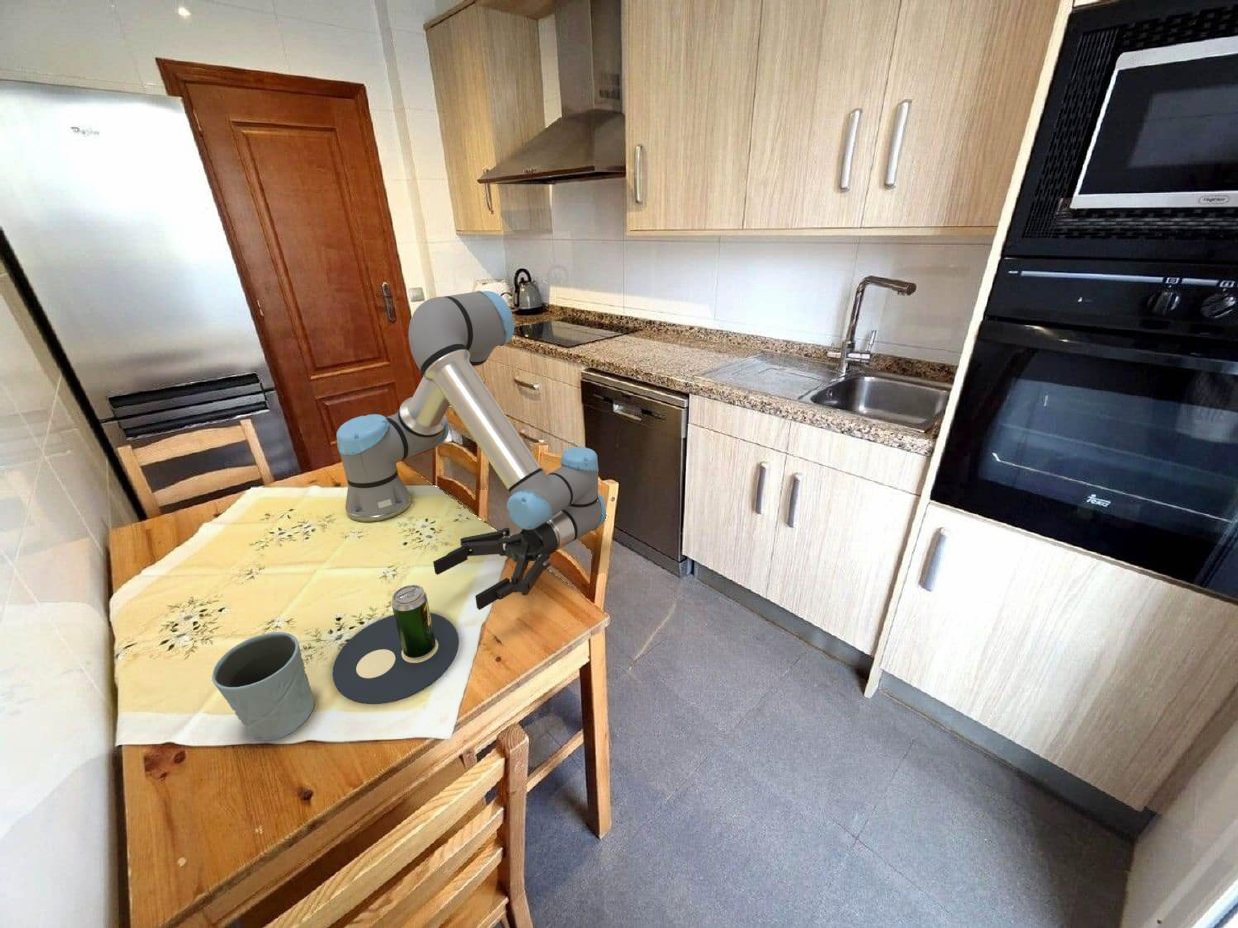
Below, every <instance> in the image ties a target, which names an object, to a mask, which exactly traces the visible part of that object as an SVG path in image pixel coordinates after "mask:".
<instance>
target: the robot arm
mask: <svg viewBox="0 0 1238 928" xmlns="http://www.w3.org/2000/svg"><path fill="white" fill-rule="evenodd" d="M513 316H514V315H513V313H512V310H511V307H510V306H509V304H508V302H506V300H505V299H504V298H503V297H502V296H501V295H500V294H498V293H497V292H495V291H491V290H476V291H471V292H465V293H457V294H452V295H451V294H450V295H444V296H436V297H431V298H429V299H427V300H424V301H423V302H422V303H420V304H419V305H418V306H417V308H416V309H415V310H414V312H413V313H412V315H411V318H410V321H409V325H408V343H409V344H408V345H409V348H410V352H411V355H412V358H413V360H414V363H415V364H416V366H417V368H418V369H419V371H420V373H421V375H422V377H421V380H420V382H419V384H418V386H417V388H416V390H415V392H414V393H413V396H411V397H408V398H406V399H404V401H403V402H402V403H401V404H400V407H399V408H398V410H397V412H396V413H394V414H391V415H388V416H384V415H382V414H379V413H378V414H376V413H372V414H371V413H369V414H367V415H360V416H357V417H354V418H351V419H349V420H347V421H345V422H343V424H342V425H340V426H339V428H338V429H337V431H336V435H335V436H336V442H337V450H338V452H339V455H340V459H341V463H342V466H343V471H344V474H345V475H344V476H345V478H346V481H347V491H346V499H345V500H346V501H345V506H344V507H345V512H346V516H347V517H348V518H349V519H351V520H352V521H356V522H359V523H360V522H361V523H374V522H375V523H376V522H381V521H385V520H389V519H393V518H394V517H397V516H399V515H400V514H402V513H404V512H405V511H406V510H408V509H409V508H410V506H411V504H412V497H411V493H410V491H409V490H408V488H407V487H406V485H405V483H404V481H403V480H402V478H401V477H400V475H399V472H398V466H397V464H398V463H400V462H402V461H404V460H407V459H410V458H412V457H414V456H417V455H419V454H421V453H424V452H427V451H430V450H433V449H435V448H437V447H438V446H440V445H441V444H444V442H445V441H446V440H447V438H448V435H449V432H450V428H449V420H448V417H447V416H446V414H447V412H448V410H449V409H450V408H451V409H452V410H453V411H454V413H455V414H456V415H457V417H458V419H459V420H460V421H461V423H462V424H463V426H464V427H465V429H466V431H468V434H469V435H470V437H471V438H472V440H473V441H474V442H475V444H476V445H477V446H478V448H479V450H480V451H481V452H482V454H483V455H484V457H485V458H486V460H487V461H488V463H489V464H490V466H491V467H492V468H493V470H494V472H495V474H497V476H498V477H499V479H500V480H501V482H502V483H503V485H504V486H505V487H506V489H507V490H508V492H509V494H510V496H509V497H508V498H507V499H508V500H507V501H506V510H507V511H508V512H509V513H508V514H509V518H510V520H511V521H512V522H513V523H514V524H515V525H516V526H517V527H519V528H520V529H521V531H520V532H519V533H515V534H513V533H511V530H510V528H509V527H504V528H502V529H499V530H495V531H491V532H485V533H480V534H475V535H470V536H465V537H461V538H459V542H460V547H457V548H456V549H454V550H451V551H449V552H448V553H447V554H445V555H444V556H441V557H439V558H437V559H435V560H433V561H432V564H433V570H434V574H435V575H436V576H438V575H440V574H442V573H444V572H446V571H448V570H451V569H452V568H454V567H456V566H458V565H461V564H462V563H464V562H466V561H468V559H469V558H468V557H477V556H491V555H498V556H500V557H506V558H508V559H511V560H512V561H513V563H516V564H515V568H514V571H513V573H512V576H511V575H510V578H508V577H505V578H504V579H502V580H500V581H498V582H497V583H495V584H493V585H491V586H489V587H488V588H486V589H484V590H483V591H481V592H479V593H478V594H475V605H476V608H477V610H479V611H480V610H482V609H484V608H486V607H488V606H489V605H491V604H492V603H494V602H496V601H497V600H498V601H500V600H504V599H505V598H507V597H508V596H511V594H513V593H521V595H522V596H528V595H529V594H530V591H532V588H533V587H534V586H535V585H536V582H537V581H538V580H539V578H540V577H541V575H542V573H543V572H544V571H545V570H546V569H548V568H549V567H551V555H552V554H554V553H555V552H556V551H559V550H560V549H562V548H564V547H566V546H567V545H569V544H571V543H572V542H574V541H576V540H578V539H580V538H582V537H584V536H586V535H587V534H588V533H591V532H594V531H595V530H597V529H598V528H599V527H600V526H601V525H604V523H605V522H606V521H605V519H606V516H607V515H606V509H605V501H606V500H605V501H604V499H605V497H604V496H602V495H601V494H600V493H599V470H600V469H599V463H598V461H599V460H598V454H597V453H596V451H594V450H593V449H591V448H588V447H585V446H575V447H574V446H573V447H569V448H567V449H565V450H563V452H562V454H561V458H560V459H561V460H560V465H561V466H559V467H558V468H557V469H555V470H553V471H551V472H549V473H548V474H546V473H545V471H544V470H543V468H542V467H541V466H540V464H539V463H538V461H537V460H536V458H535V457H534V455H533V454H532V452H531V451H530V449H529V447H528V446H527V445H526V444H525V442H524V440H523V439H522V437H521V436H520V435H519V433H518V432H517V430H516V429H515V427H514V426H513V424H512V423H511V421H510V419H508V417H507V415H506V414H505V412H504V411H503V409H502V408H501V406H500V405H499V404H498V402H497V401H496V399H495V397H494V395H492V393H491V392H490V390H489V389H488V387H487V385H486V384H485V383H484V381H483V380H482V378H481V377H480V375H479V374H478V372H477V371H476V369H475V367H480V366H482V365H483V364H485V363H486V362H487V361H488V359H489V358H490V356H491V354H492V352H493V351H494V350H495V349H496V348H497V347H503V346H505V345H506V344H508V343H510V342H511V340H512V339H513V337H514V333H515V321H514V317H513ZM597 500H598V501H597ZM597 519H598V523H597ZM604 521H605V522H604ZM603 522H604V523H603ZM504 544H505V545H504ZM530 562H533V564H532V565H531V567H530V568H529V569H528V567H529V563H530ZM526 570H528V571H527V572H526ZM525 573H526V574H525Z"/></svg>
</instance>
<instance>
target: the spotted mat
mask: <svg viewBox="0 0 1238 928" xmlns="http://www.w3.org/2000/svg"><path fill="white" fill-rule="evenodd" d="M430 615H431V620H432V625H433V630H434V635H435V641H436V644H435V647H434V650H433V651H432V653H430V654H429V655H428V656H426V657H424V658H422V659H417V660H414V659H410V658H408V657H407V656H405V654H404V653H403V650H402V646H401V641H400V637H399V633H398V629H397V625H396V621H395V616H394V614H392V615H389V616H386V617H384V618H381V619H378V620H377V621H375V622H373V623H371V624H369V625H367V626H365V627H364V628H362V629H361V630H360V631H358V632H357V633H355V634H354V635H353V636H352V637H351V638H350V639H349V640H348V641H347V642H346V643H345V644H344V645H343V647H341V648H340V651H339V652H338V654H337V656H336V658H335V660H334V663H333V666H332V680H333V683H334V686H335V687H336V690H337V691H338V692H339V693H340V694H341V695H342V696H344V697H345V698H347V699H349V700H351V701H353V702H356V703H361V704H367V705H368V704H369V705H379V704H387V703H392V702H393V703H394V702H397V701H400V700H403V699H406V698H409V697H411V696H414V695H416V694H417V693H420V692H421V691H423V690H425V689H426V688H428V687H430V686H431V685H432V684H433V683H435V682H436V681H437V680H438V679H440V677H442V676H443V675H444V674H445V672H447V670H448V669H449V668H450V666H451V665H452V663H453V662H454V660H455V658H456V655H457V653H458V650H459V635H458V631H457V628H456V627H455V626H454V624H453V623H452V622H451V621H450V620H449V619H447V618H446V617H444V616H442V615H440V614H438V613H434V612H430Z"/></svg>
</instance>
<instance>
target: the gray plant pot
mask: <svg viewBox="0 0 1238 928" xmlns="http://www.w3.org/2000/svg"><path fill="white" fill-rule="evenodd" d="M305 669H306V667H305V662H304V659H303V657H302V651H301V647H300V643H299V640H298V638H297V637H296V636H295V635H293V634H292V633H289V632H288V633H287V632H285V631H273V632H268V633H263V634H259V635H256V636H252V637H249V638H248V639H245V640H244V641H242V642H240V643H238V644H236V645H235V646H234V647H232V648H231V649H229V650H228V651H226V653H224V654H223V655H222V656H221V657H220V659H218V661H217V662H216V664H215V665H214V667H213V670H212V674H211V681H212V683H213V684H214V686H215V688H217V691H219V692H220V694H221V695H222V697H223V698H224V699H225V701H227V702H226V703H227V704H228V705H229V707H230V708H231V710H233V711H234V714H235V715H236V716H237V718H238V720H239V721H240V722H241V724H242V725H244V727H245V730H246V731H247V733H248V734H249V735H250V736H251V737H252V739H255V740H258V741H264V742H266V741H267V742H268V741H269V742H270V741H275V740H278V739H281V738H283V737H286V736H288V735H290V734H291V733H292V732H296V730H297V729H298V728H300V727H301V726H302V725H303V724H304V723H305V722H306V721H307V720H308V719H309V717H310V716H311V714H312V712H313V710H314V706H315V698H314V694H313V691H312V688H311V685H310V681H309V678H308V674H307V673H306V670H305Z"/></svg>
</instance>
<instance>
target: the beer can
mask: <svg viewBox="0 0 1238 928" xmlns="http://www.w3.org/2000/svg"><path fill="white" fill-rule="evenodd" d="M391 607H392V612H393V615H394V616H395V621H396V625H397V629H398V633H399V637H400V641H401V646H402V650H403V653H404V654H405V656H407V657H408V658H410V659H414V660H417V659H422V658H424V657H426V656H428V655H429V654H430V653H432V651H433V650H434V647H435V644H436V641H435V635H434V630H433V625H432V620H431V615H430V613H431V611H430V606H429V601H428V596H427V592H426V591H425V589H424V587H422V586H421V585H418V584H409V585H405V586H402V587H400V588H398V589H396V590H395V592H394V593H393V594H392V596H391Z"/></svg>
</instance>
